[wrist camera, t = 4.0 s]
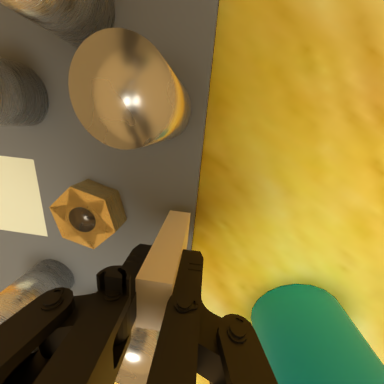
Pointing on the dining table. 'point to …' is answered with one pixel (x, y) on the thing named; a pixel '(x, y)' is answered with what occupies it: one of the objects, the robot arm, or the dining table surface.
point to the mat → (100, 144)
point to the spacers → (94, 121)
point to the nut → (88, 213)
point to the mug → (312, 339)
